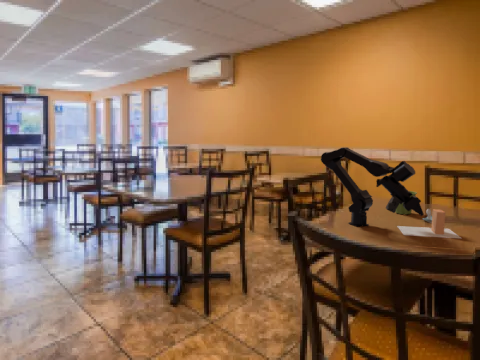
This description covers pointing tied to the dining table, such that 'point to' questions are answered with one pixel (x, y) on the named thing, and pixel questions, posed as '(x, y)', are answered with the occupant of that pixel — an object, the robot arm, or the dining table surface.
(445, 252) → the dining table surface
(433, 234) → the mat
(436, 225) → the orange block
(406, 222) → the dining table surface
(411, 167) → the robot arm
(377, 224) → the dining table surface
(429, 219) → the pacifier
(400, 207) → the plant pot
